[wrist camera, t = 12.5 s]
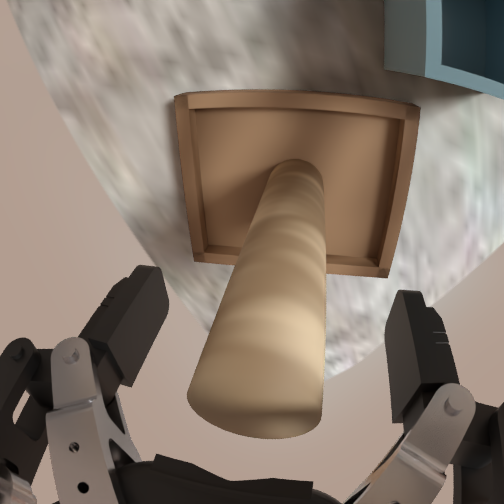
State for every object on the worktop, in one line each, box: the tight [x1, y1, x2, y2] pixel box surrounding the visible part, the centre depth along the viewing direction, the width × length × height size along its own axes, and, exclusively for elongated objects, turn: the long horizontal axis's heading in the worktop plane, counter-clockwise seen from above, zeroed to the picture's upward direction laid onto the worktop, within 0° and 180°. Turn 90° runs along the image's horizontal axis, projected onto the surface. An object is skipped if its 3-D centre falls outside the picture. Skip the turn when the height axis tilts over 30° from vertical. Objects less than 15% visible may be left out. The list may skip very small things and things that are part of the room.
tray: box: [174, 90, 421, 278], centre depth 18 cm, size 13×11×2 cm
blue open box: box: [384, 0, 504, 99], centre depth 9 cm, size 7×7×7 cm
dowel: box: [187, 159, 326, 439], centre depth 13 cm, size 3×3×14 cm
